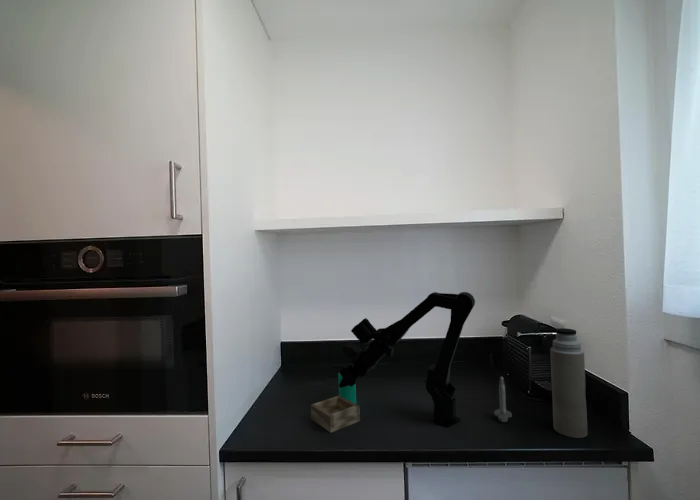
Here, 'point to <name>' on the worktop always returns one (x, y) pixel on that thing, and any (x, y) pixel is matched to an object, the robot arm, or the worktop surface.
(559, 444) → the worktop surface
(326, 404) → the candle holder
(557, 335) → the thermos bottle
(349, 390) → the candle
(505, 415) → the screw
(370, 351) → the robot arm
